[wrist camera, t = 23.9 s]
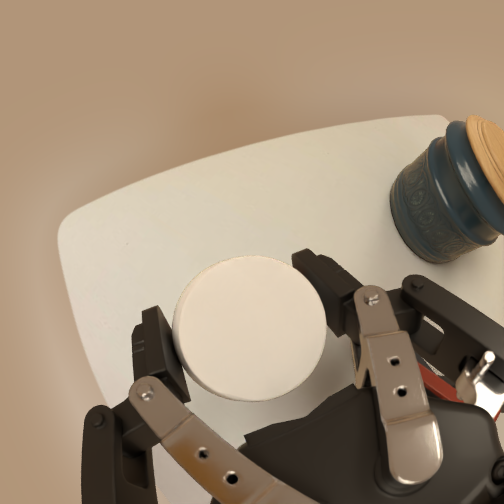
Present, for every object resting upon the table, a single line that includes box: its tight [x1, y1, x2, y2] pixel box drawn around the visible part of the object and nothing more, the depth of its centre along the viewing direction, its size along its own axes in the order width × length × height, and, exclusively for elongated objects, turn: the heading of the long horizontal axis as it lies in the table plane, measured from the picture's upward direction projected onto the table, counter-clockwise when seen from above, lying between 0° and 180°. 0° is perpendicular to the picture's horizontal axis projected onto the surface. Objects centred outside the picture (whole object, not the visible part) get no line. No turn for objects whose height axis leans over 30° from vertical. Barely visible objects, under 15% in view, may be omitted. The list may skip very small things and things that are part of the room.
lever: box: [418, 362, 501, 422], centre depth 17 cm, size 16×3×3 cm
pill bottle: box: [172, 256, 327, 402], centre depth 13 cm, size 6×6×11 cm
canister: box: [390, 115, 504, 263], centre depth 21 cm, size 13×13×18 cm
